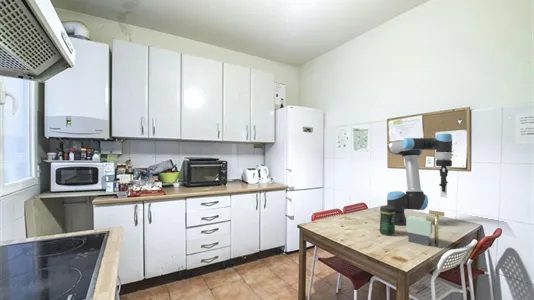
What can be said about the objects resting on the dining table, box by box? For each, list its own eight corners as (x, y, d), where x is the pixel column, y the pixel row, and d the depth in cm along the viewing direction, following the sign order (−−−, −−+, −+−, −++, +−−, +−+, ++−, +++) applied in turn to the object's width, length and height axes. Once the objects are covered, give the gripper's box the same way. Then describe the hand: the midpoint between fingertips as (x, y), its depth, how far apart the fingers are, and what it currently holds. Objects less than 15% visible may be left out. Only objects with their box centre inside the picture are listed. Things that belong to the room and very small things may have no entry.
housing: (408, 241, 139) (408, 231, 139) (410, 238, 144) (410, 228, 144) (440, 248, 129) (441, 238, 129) (441, 245, 134) (441, 234, 134)
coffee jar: (390, 236, 146) (390, 207, 146) (377, 233, 153) (378, 205, 152) (397, 233, 152) (397, 205, 152) (384, 230, 158) (385, 203, 158)
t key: (425, 242, 135) (426, 210, 135) (426, 241, 137) (426, 209, 137) (443, 246, 130) (444, 213, 130) (444, 245, 132) (444, 212, 131)
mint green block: (406, 231, 139) (406, 218, 139) (408, 227, 146) (408, 215, 146) (430, 236, 131) (430, 222, 131) (431, 232, 138) (432, 219, 138)
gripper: (452, 160, 123) (452, 199, 123) (451, 159, 143) (451, 193, 143) (435, 160, 128) (434, 197, 128) (436, 159, 147) (436, 191, 147)
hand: (443, 195), depth 135 cm, fingers open, 13 cm apart
